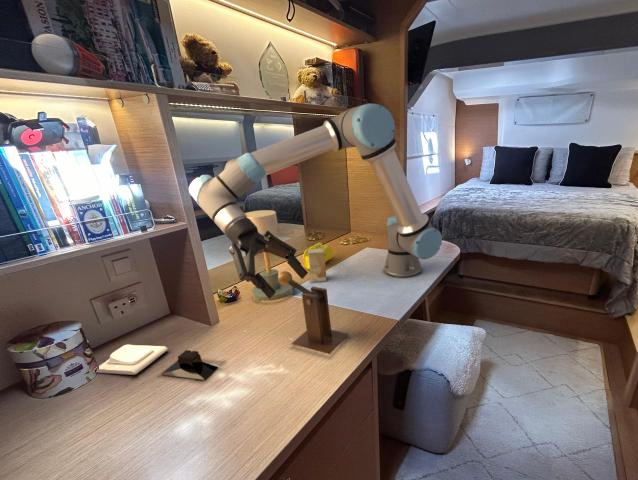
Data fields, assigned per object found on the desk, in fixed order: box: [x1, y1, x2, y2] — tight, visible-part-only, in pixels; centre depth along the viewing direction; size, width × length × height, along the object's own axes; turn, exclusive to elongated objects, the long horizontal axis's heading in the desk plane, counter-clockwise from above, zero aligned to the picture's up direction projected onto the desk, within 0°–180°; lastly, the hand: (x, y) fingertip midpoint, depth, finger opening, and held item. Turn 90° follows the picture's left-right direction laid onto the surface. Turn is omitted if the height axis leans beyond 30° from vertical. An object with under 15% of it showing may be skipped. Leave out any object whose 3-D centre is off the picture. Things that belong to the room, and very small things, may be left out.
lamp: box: [244, 209, 294, 303], centre depth 118 cm, size 14×14×30 cm
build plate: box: [161, 349, 219, 382], centre depth 84 cm, size 12×7×5 cm, turn 78°
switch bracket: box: [290, 286, 349, 355], centre depth 91 cm, size 12×10×16 cm
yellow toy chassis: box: [302, 241, 334, 270], centre depth 150 cm, size 16×6×8 cm, turn 158°
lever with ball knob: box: [278, 270, 323, 303], centre depth 89 cm, size 13×4×4 cm, turn 66°
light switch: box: [95, 344, 169, 376], centre depth 89 cm, size 11×4×13 cm
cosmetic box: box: [307, 249, 327, 283], centre depth 133 cm, size 6×4×12 cm
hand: (289, 285), depth 90 cm, fingers open, 13 cm apart
